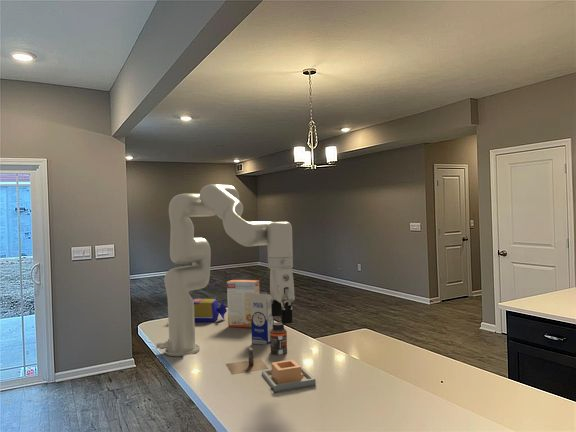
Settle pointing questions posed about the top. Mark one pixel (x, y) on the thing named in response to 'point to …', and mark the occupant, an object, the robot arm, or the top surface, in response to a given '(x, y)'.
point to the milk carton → (261, 318)
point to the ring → (286, 371)
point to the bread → (207, 310)
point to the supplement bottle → (278, 339)
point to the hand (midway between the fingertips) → (281, 319)
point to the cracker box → (240, 301)
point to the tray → (291, 385)
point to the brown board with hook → (247, 364)
